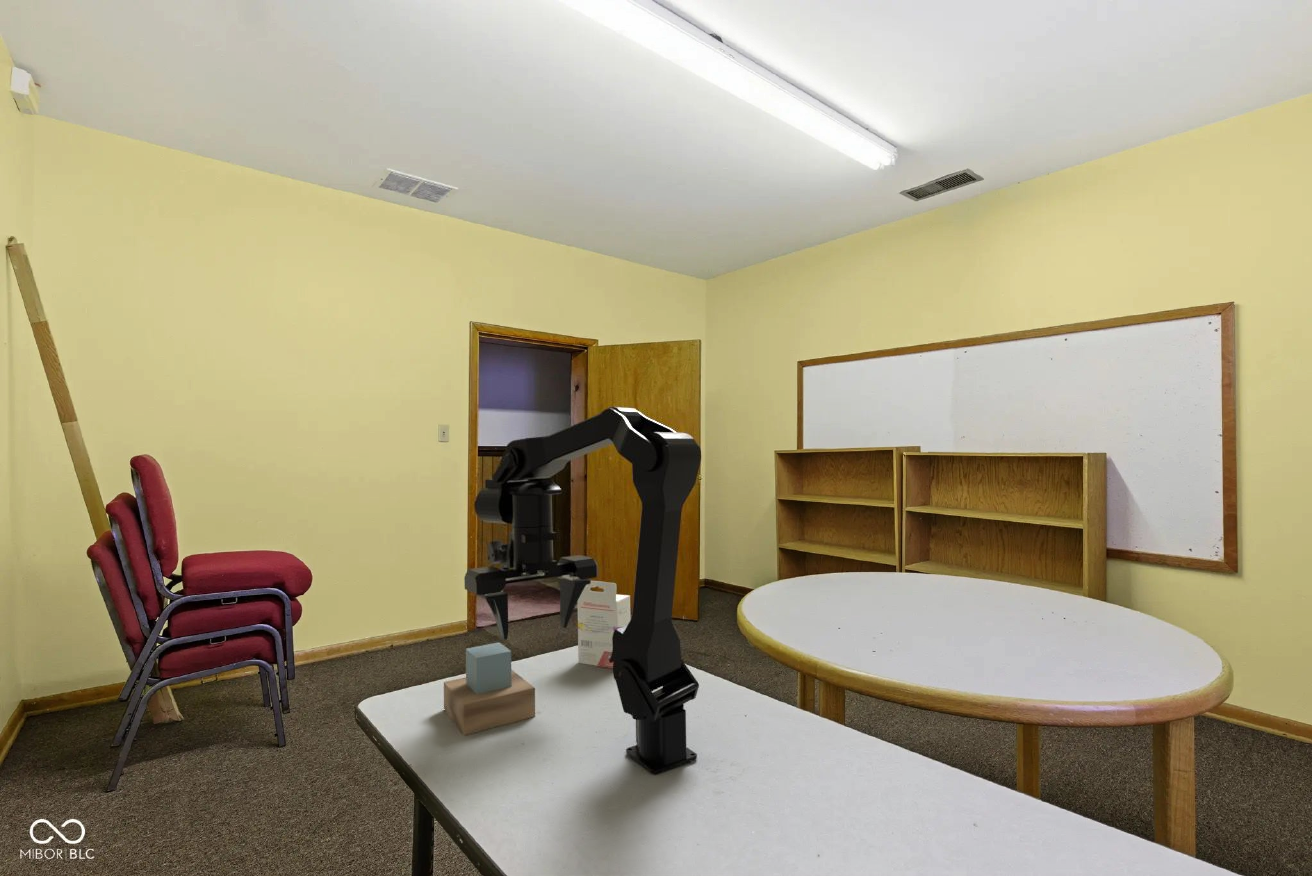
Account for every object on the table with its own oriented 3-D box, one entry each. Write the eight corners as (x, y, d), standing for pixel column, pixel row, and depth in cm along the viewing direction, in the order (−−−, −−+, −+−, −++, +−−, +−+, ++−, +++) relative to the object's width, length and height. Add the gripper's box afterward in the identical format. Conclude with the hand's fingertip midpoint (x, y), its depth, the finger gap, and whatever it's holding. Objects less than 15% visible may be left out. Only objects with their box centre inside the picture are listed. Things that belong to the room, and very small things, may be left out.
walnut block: (535, 716, 88) (534, 687, 88) (464, 735, 83) (464, 704, 83) (509, 693, 97) (509, 667, 97) (443, 709, 91) (443, 682, 91)
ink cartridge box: (633, 661, 111) (631, 578, 111) (618, 670, 106) (617, 583, 106) (592, 654, 115) (591, 574, 115) (576, 663, 110) (575, 579, 110)
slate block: (511, 686, 89) (511, 651, 89) (476, 694, 86) (476, 658, 86) (499, 676, 93) (499, 642, 93) (466, 683, 90) (465, 648, 91)
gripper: (565, 517, 103) (567, 612, 103) (451, 526, 92) (453, 633, 92) (598, 521, 94) (601, 626, 94) (476, 533, 83) (479, 651, 83)
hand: (535, 633), depth 91 cm, fingers open, 9 cm apart
